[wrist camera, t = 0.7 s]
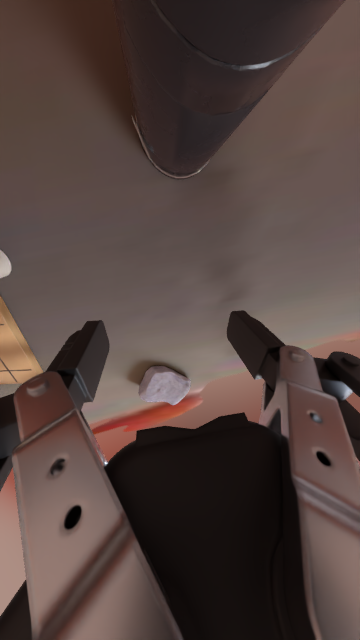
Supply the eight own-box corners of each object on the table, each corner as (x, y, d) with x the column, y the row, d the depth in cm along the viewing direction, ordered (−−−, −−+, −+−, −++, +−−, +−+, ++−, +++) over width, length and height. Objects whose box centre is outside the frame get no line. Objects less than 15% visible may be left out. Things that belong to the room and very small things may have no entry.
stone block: (150, 357, 38) (136, 388, 41) (152, 370, 34) (136, 404, 37) (191, 367, 43) (176, 394, 45) (197, 379, 38) (180, 409, 41)
